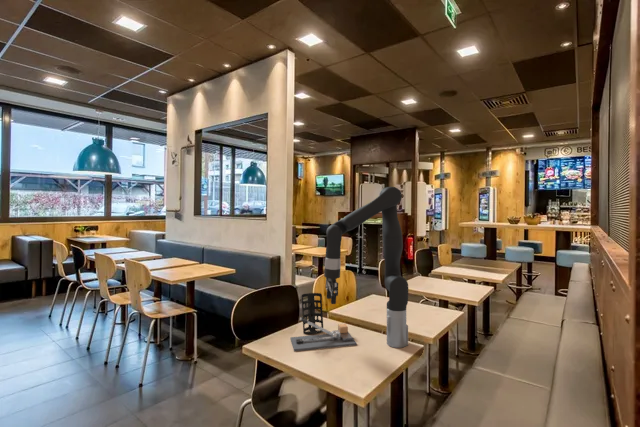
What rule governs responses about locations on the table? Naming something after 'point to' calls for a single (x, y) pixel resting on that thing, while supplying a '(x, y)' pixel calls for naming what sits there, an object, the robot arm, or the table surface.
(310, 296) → the holder
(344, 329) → the tab
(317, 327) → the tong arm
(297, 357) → the table surface
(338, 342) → the tray
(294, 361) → the table surface
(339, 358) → the table surface
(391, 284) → the robot arm
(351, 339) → the base
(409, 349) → the table surface
